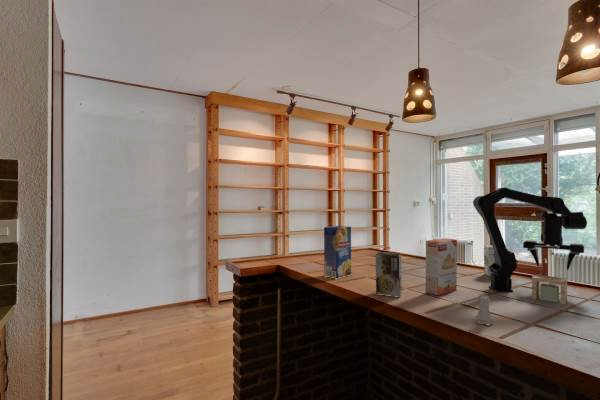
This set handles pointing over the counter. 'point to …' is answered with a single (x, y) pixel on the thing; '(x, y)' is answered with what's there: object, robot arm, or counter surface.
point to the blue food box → (337, 251)
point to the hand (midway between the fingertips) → (552, 268)
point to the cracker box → (441, 266)
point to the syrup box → (488, 258)
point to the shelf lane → (558, 280)
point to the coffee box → (388, 273)
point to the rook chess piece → (484, 310)
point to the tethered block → (549, 292)
